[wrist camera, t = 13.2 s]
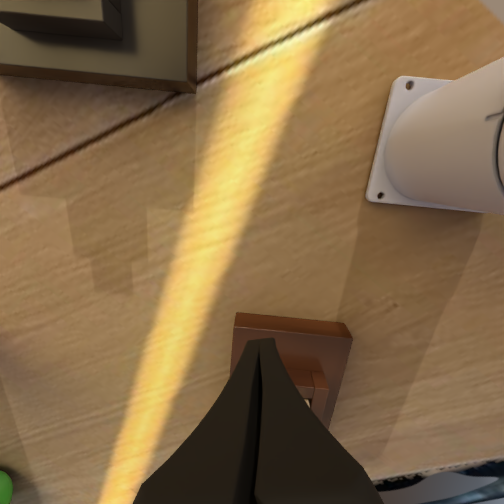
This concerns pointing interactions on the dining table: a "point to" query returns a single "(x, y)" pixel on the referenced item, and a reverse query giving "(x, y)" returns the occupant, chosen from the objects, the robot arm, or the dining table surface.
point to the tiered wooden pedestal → (301, 354)
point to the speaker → (5, 488)
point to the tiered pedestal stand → (102, 42)
